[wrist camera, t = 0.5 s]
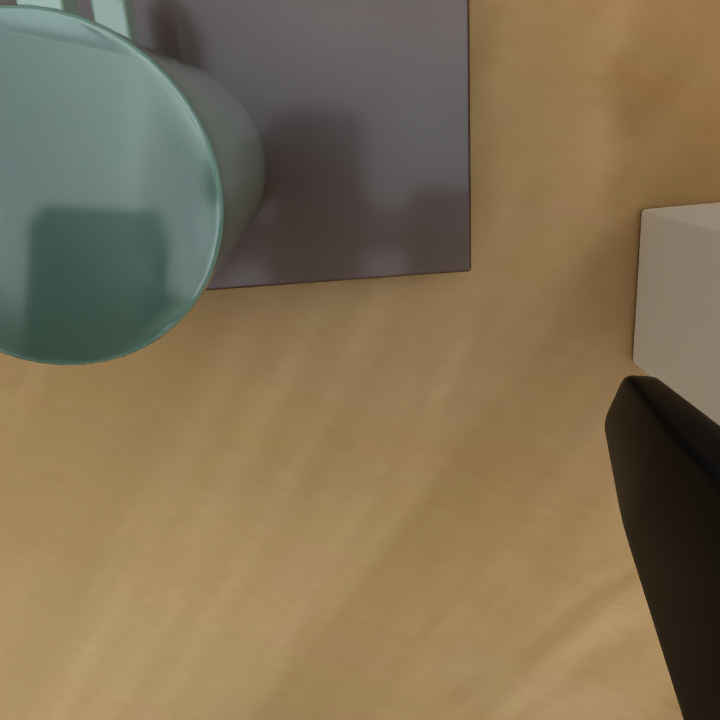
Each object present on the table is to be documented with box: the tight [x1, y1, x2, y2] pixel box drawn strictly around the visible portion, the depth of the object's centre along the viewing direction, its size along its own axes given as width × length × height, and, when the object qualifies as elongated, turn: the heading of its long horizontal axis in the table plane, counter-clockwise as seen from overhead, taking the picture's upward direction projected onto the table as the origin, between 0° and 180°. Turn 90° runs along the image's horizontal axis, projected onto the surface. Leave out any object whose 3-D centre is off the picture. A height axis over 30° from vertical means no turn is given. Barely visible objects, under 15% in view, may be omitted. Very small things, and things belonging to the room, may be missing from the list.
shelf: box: [0, 0, 471, 290], centre depth 20 cm, size 11×18×5 cm, turn 94°
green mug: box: [0, 0, 266, 365], centre depth 15 cm, size 8×6×9 cm
